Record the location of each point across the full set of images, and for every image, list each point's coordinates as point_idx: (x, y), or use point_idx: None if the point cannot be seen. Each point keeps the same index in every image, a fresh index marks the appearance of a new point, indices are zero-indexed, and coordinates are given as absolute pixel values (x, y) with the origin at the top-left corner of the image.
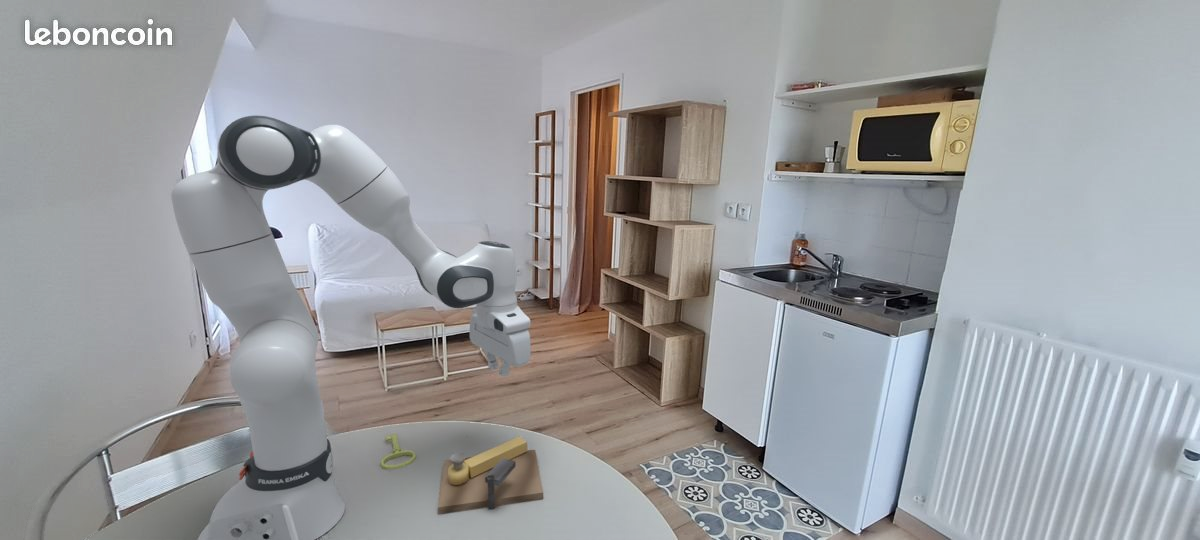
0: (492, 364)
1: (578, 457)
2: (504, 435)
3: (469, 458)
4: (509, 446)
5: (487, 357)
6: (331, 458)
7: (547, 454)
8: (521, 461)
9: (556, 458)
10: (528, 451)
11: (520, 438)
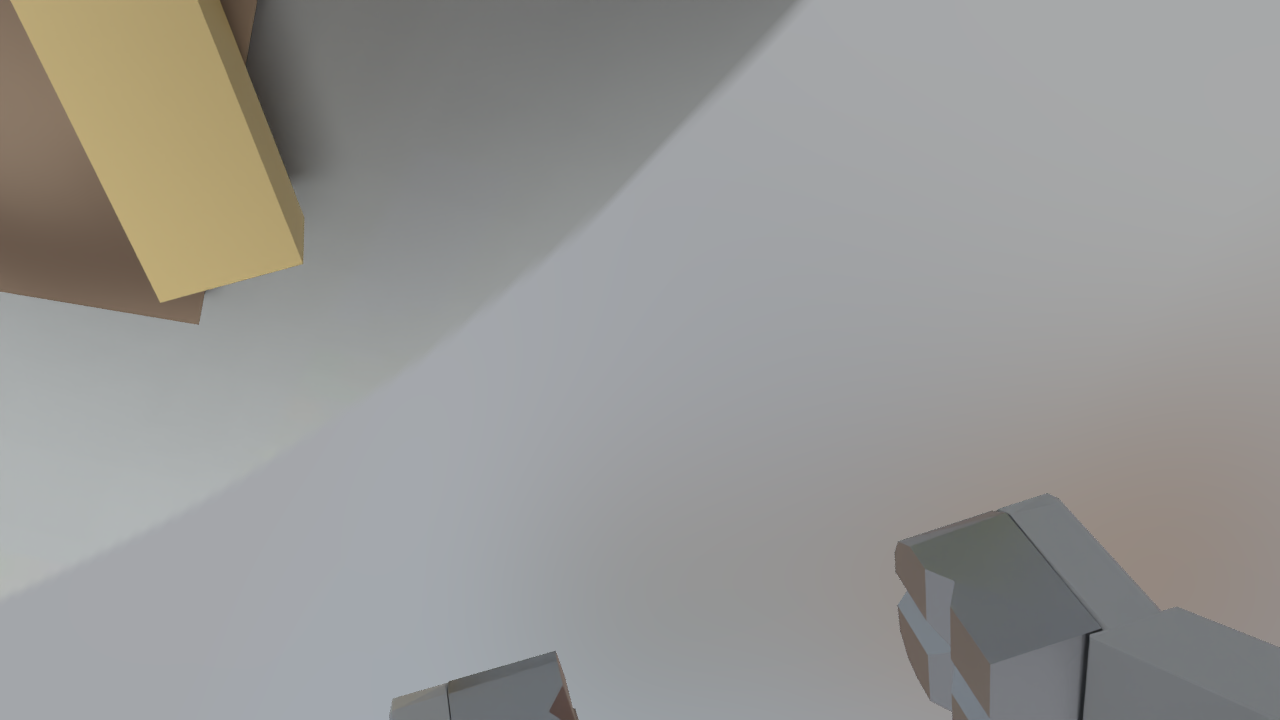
0: (965, 655)
1: (41, 576)
2: (649, 144)
3: None
4: (127, 110)
5: (1252, 695)
6: None
7: (178, 386)
8: (25, 152)
9: (88, 432)
10: None
11: (254, 261)
